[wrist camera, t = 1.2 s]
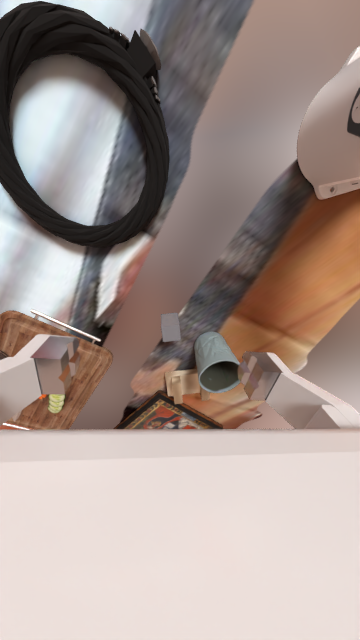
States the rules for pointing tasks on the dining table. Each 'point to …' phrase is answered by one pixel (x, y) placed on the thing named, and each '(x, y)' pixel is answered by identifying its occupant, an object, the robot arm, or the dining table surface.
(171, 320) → the grey rectangular block
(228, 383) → the grey hollow cylinder
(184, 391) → the notch board
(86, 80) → the dining table surface
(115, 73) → the cable lock
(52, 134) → the dining table surface
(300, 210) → the dining table surface
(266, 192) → the dining table surface
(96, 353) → the chopping board
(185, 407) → the religious icon
